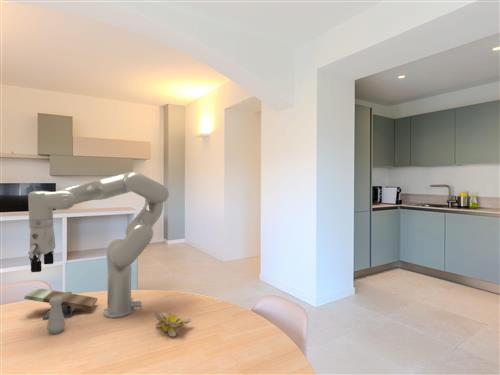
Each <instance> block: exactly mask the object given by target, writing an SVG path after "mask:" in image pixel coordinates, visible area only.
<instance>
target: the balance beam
mask: <svg viewBox="0 0 500 375" xmlns="http://www.w3.org/2000/svg"><path fill="white" fill-rule="evenodd" d="M57 296H60V297H62V298H63V302H62V305H65V306H71V307H77V309H84V310H90V311H91V310H92V309H93V308H94V306H95V304H96V303H97V302H98V297H93V296H89V295H81V294H76V293H72V294H71V293H65V292H64V291H59V290H52V289H46V288H41V287H34V288H33V289H32V290H30V291H29V292H28V293H26V294H25V295H24V297H23V299H24V300H28V301H33V302H34V301H35V302H41V303H46V304H49V301H50V299H51V298H53V297H57Z"/></svg>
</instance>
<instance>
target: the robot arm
mask: <svg viewBox="0 0 500 375" xmlns="http://www.w3.org/2000/svg"><path fill="white" fill-rule="evenodd" d="M131 192H132V193H134V194H136V195H138V196H140V197H142V198H143V199H145V200H144V201H145V202H144V206H143V207H142V209H141V210H140V211H139V213H138V214H137V215H136V216H135V217H134V219H132V221H131V222H130V223H129V224H128V225H127V227H126V228H125V235H126V236H125V237H124V238H123V239H121V238H118V239H115V240H112V241H111V242H110V243H109V244H108V246H107V249H106V262H107V307H105V308H104V309H103V314H102V315H103V316H104V317H106V318H112V319H113V318H114V319H115V318H116V319H117V318H121V317H126V316H129V315H131V314H132V313H133V312H134V311H135V309H136V308H142V304H143V302H142V301H140V300H134V299H133V297H132V264H133V263H134V262H135V261H136V260H137V259H138V258H139V256H141V254H142V253H143V252H144V250H145V249H146V248H147V247H148V245H149V244H150V243H151V241H152V239H153V237H154V230H153V227H154V226H155V224H157V221H158V220H159V219H160V218H161V216H162V213H163V210H164V203H165V202H166V201H167V200H168V198H169V196H170V192H169V189H168V188H167V186H165V185H164V184H162V183H160V182H158V181H157V180H154V179H152V178H150V177H148V176H146V175H144V174H142V173H140V172H137V171H129V172H128V171H127V172H125V173H121V174H115V175H113V176H108V177H105V178H100V179H96V180H93V181H90V182H86V183H83V184H78V185H73V186H70V187H67V188H63V189H59V190H57V191H49V190H34V191H33V190H32V191H31V192H29V193H28V195H27V197H28V198H27V199H28V225H29V226H28V227H29V229H30V231H29V232H30V234H29V250H28V252H27V253H28V254H27V255H28V256H29V257H28V258H29V262H30V272H31V273H40V272H42V260H41V258H42V255H43V265H53V264H54V252H55V251H54V250H55V249H56V240H55V239H56V238H55V236H56V235H55V230H54V229H55V228H54V210H70V209H71V208H73V207H74V206H75V205H79V204H81V203H85V202H88V201H89V202H90V201H97V200H99V201H100V200H101V201H102V200H107V199H111V198H114V197H117V196H120V195H121V196H122V195H124V194H128V193H131Z"/></svg>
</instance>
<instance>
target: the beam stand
mask: <svg viewBox="0 0 500 375" xmlns="http://www.w3.org/2000/svg"><path fill="white" fill-rule="evenodd" d="M65 293H71V294H73V293H72V291H67V292H65ZM61 307H62V311H63V316H64V319H69V318H71V316H72V315H73V314H74V313H75V312H76V310H77V309H78V308H77V307H71V306H65V305H62V303H61ZM50 310H51V308H50V309H49V310H48V311H47V312H46V313H45V314H44V315H43V316H42V319H41V320H42V321H46V320H49V315H50Z"/></svg>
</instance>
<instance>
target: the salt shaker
mask: <svg viewBox="0 0 500 375" xmlns="http://www.w3.org/2000/svg"><path fill="white" fill-rule="evenodd" d="M62 302H63V298H62V297H60V296H57V297H53V298H51V299H50V301H49V303H48V304H49V306H50V309H51V310H50V309H49V310H50V315H49V320H48V321H47V327H46V329H47V331H48V333H49V334H50V335H56V334H60V333H62V332H63V331H64V329H65V326H66V320H65V318H64V316H63V311H62V307H61V303H62Z"/></svg>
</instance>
